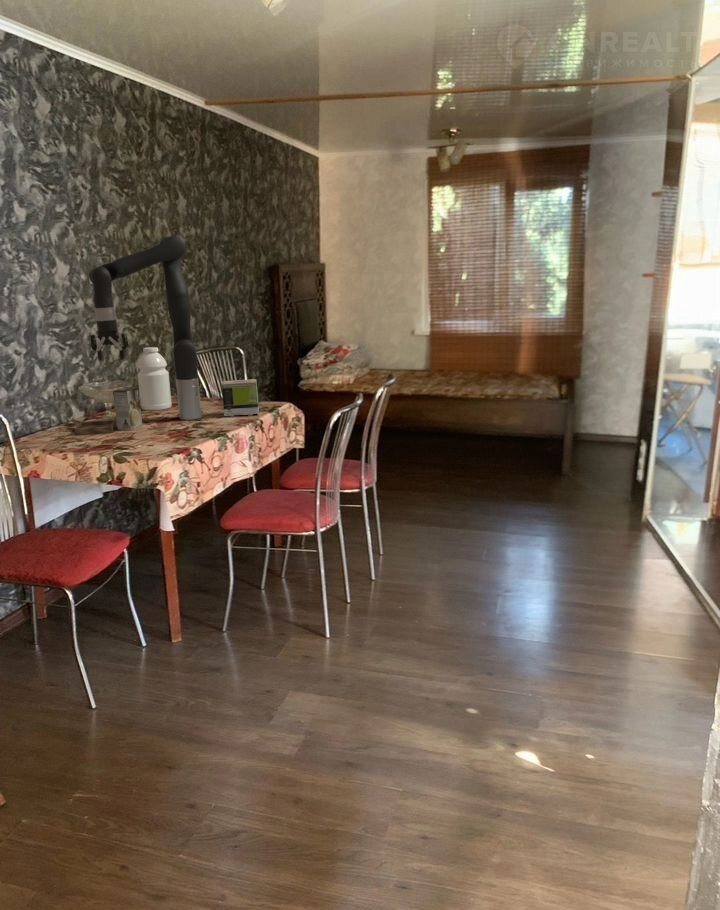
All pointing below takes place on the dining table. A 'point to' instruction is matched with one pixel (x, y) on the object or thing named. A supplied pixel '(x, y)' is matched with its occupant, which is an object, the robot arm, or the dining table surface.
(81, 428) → the walnut tray
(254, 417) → the dining table surface
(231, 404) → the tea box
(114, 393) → the coffee box
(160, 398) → the bottle
